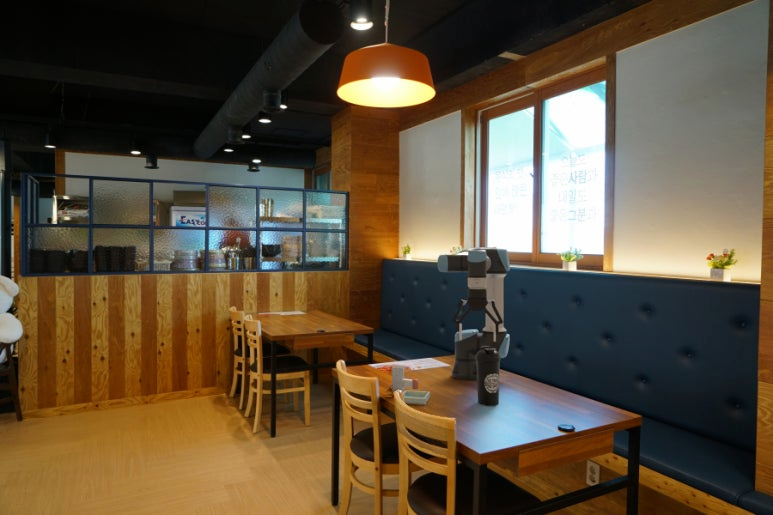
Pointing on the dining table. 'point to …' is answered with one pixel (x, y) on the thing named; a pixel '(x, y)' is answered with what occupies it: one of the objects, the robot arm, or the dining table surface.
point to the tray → (416, 397)
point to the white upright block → (398, 378)
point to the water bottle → (488, 376)
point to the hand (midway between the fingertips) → (477, 340)
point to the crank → (411, 383)
